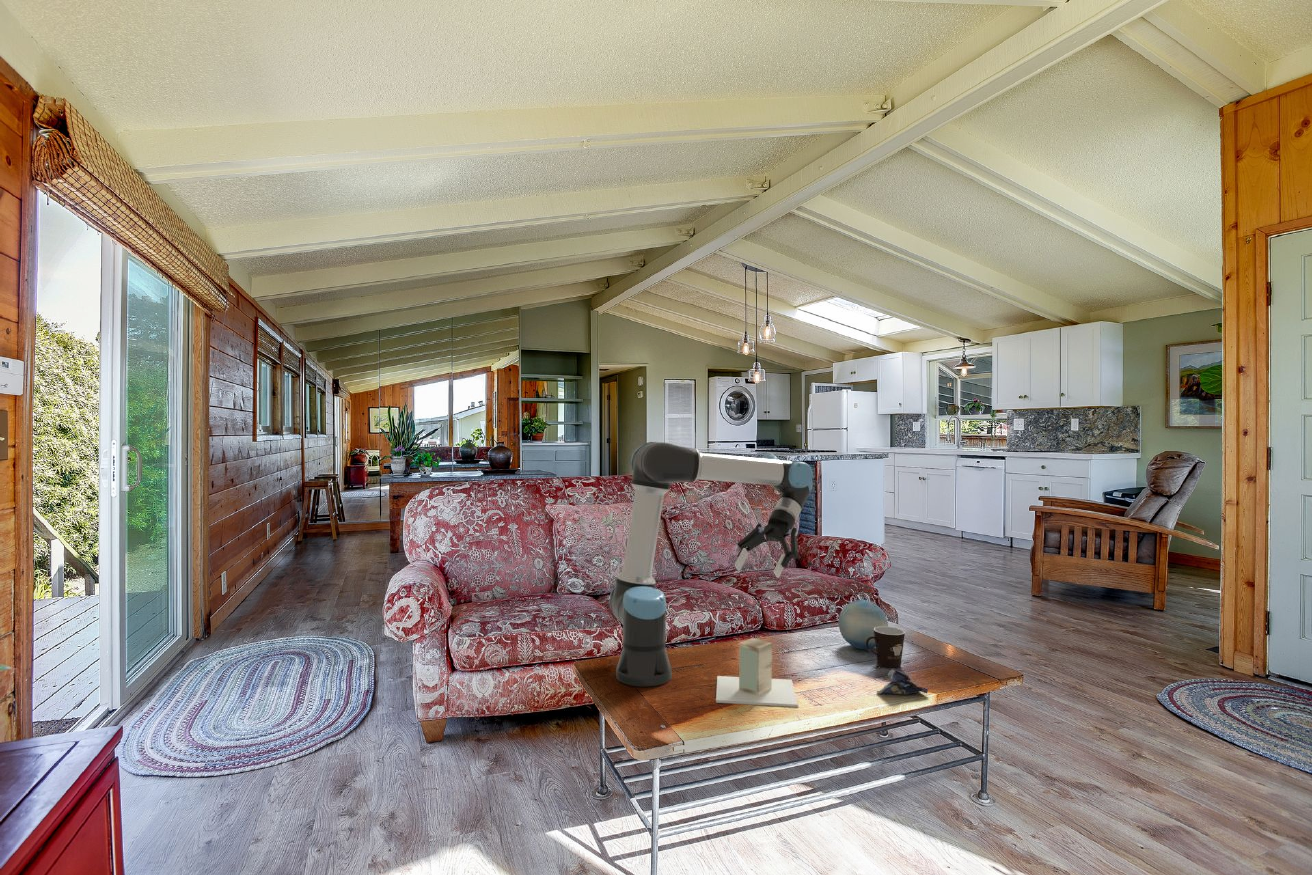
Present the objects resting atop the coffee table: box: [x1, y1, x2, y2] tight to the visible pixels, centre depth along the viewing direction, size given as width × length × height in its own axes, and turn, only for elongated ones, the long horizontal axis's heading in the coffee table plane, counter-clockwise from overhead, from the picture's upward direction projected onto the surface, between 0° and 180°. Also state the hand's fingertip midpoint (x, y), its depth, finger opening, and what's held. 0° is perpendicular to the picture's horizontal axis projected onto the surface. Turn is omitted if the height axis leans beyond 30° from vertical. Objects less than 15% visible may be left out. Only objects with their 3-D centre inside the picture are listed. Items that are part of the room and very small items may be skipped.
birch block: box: [738, 637, 773, 696], centre depth 170 cm, size 6×6×12 cm
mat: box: [715, 675, 799, 708], centre depth 170 cm, size 20×17×1 cm
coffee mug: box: [866, 626, 906, 670], centre depth 192 cm, size 12×9×10 cm
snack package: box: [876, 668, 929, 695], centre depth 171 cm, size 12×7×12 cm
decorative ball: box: [838, 599, 889, 650], centre depth 208 cm, size 15×15×15 cm
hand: (756, 571), depth 192 cm, fingers open, 13 cm apart
